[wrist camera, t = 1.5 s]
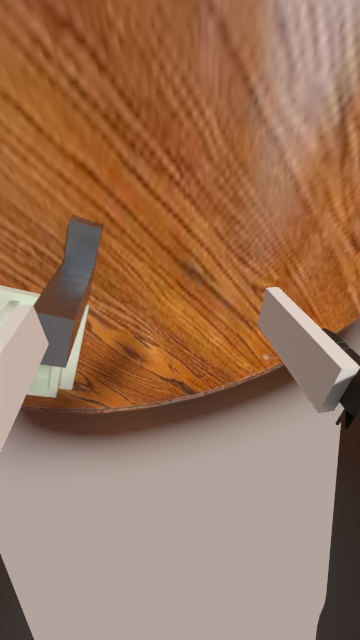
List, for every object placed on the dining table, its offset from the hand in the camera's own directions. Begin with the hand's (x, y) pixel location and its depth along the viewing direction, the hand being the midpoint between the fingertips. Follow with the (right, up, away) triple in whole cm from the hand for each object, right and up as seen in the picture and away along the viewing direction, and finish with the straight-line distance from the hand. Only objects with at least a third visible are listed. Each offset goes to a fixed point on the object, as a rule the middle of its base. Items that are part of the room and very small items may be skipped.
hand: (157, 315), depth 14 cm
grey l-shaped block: (-12, +8, +18) cm, 23 cm away
